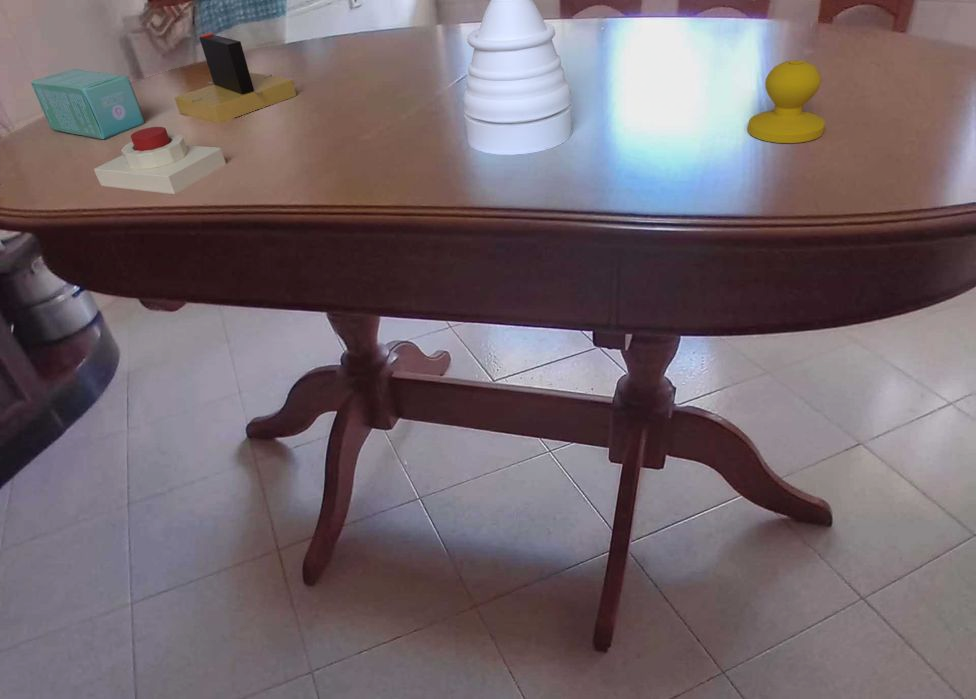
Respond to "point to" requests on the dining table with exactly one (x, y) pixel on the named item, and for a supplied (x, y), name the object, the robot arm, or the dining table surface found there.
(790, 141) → the doorknob
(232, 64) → the lock knob
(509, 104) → the honey pot
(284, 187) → the dining table surface
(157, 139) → the bell button
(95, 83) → the box
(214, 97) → the lock plate
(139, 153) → the bell block
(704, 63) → the dining table surface
